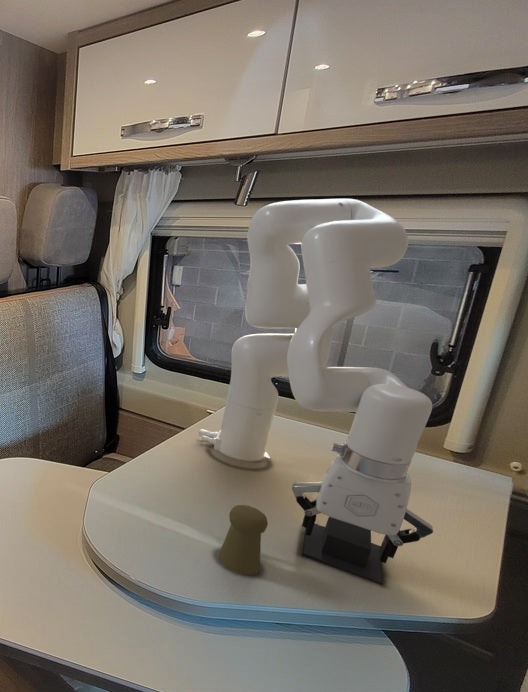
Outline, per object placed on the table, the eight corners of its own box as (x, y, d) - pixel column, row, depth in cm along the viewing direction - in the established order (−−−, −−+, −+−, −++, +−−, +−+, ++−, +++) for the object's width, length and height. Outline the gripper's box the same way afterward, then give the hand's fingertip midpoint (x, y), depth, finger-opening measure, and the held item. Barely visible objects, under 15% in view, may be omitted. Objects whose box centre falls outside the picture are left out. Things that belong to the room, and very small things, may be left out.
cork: (252, 557, 79) (265, 503, 76) (264, 582, 74) (278, 525, 71) (213, 550, 81) (223, 496, 78) (222, 574, 76) (233, 517, 73)
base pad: (301, 557, 79) (305, 546, 78) (306, 525, 85) (309, 514, 85) (380, 588, 72) (385, 576, 71) (379, 550, 79) (383, 539, 78)
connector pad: (321, 552, 78) (327, 534, 77) (322, 533, 82) (328, 516, 81) (364, 568, 75) (371, 549, 73) (364, 548, 78) (370, 530, 77)
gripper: (303, 452, 75) (279, 533, 81) (458, 494, 64) (417, 584, 70) (306, 433, 80) (284, 510, 86) (451, 469, 69) (413, 554, 75)
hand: (343, 543), depth 78 cm, fingers open, 9 cm apart
